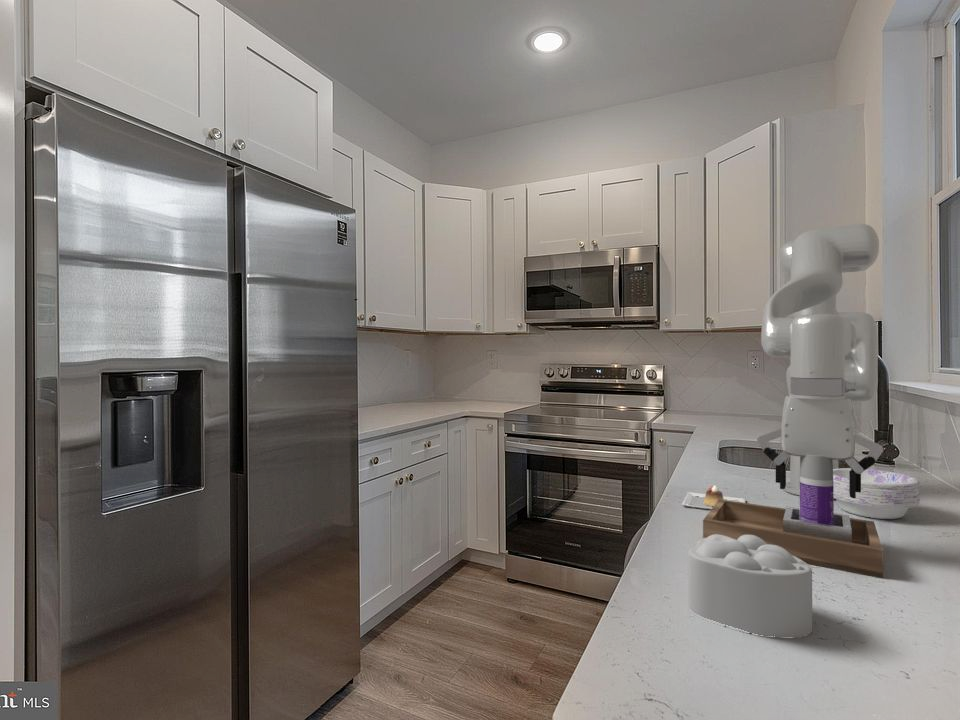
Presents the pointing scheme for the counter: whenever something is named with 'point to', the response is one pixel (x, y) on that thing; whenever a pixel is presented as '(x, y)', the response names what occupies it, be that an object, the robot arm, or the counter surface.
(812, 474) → the container
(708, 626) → the counter surface
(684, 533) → the counter surface
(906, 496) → the paper bowls
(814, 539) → the walled tray
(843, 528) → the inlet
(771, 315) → the robot arm
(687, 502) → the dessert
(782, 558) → the lumpy-topped squat cylinder
